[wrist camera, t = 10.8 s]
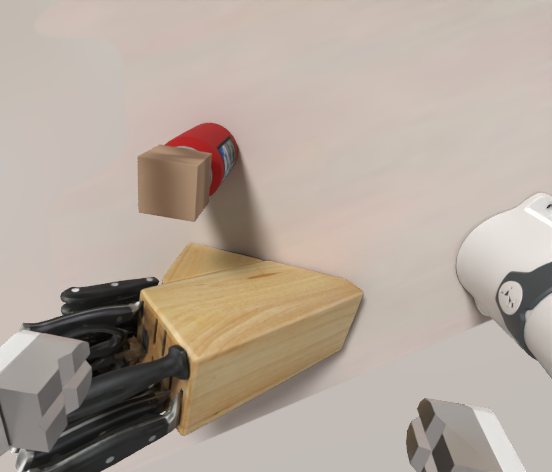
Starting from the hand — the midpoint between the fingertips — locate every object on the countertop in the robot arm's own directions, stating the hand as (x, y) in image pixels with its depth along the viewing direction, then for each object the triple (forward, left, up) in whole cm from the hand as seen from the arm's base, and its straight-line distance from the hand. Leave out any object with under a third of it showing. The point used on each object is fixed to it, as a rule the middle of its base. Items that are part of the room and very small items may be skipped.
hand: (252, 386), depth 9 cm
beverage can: (+10, +4, -39) cm, 41 cm away
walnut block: (+10, +4, -27) cm, 29 cm away
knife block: (+5, +23, -39) cm, 46 cm away
